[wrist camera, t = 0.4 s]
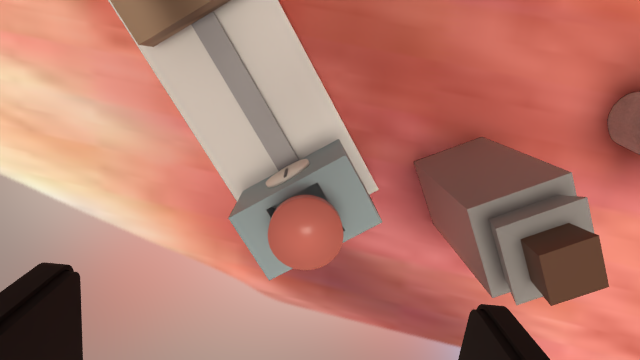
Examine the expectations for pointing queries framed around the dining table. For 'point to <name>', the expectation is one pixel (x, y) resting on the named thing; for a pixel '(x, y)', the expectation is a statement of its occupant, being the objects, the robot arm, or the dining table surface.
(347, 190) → the end cabinet
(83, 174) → the dining table surface
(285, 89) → the rail bed
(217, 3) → the carriage
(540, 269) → the perfume bottle
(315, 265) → the button
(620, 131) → the house plant
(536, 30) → the dining table surface
